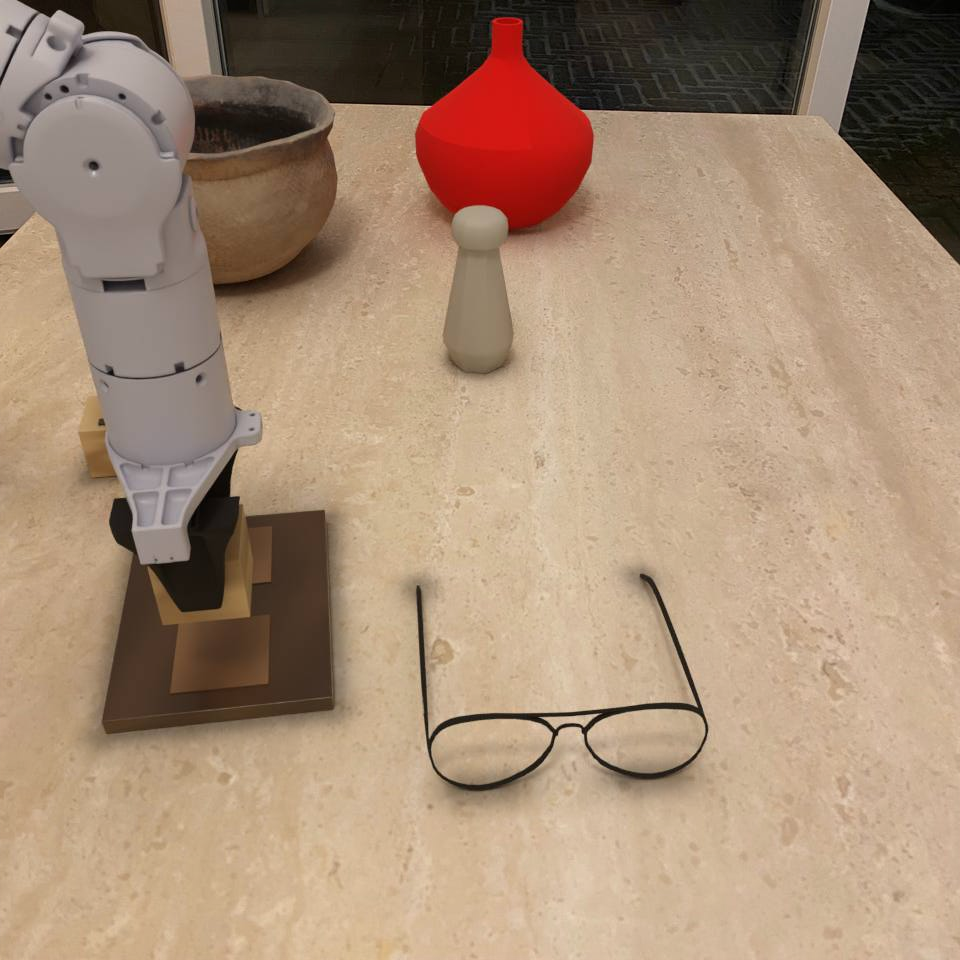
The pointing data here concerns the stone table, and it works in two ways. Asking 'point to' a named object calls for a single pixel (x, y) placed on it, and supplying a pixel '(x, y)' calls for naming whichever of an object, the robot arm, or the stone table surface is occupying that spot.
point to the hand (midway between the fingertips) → (204, 572)
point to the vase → (505, 138)
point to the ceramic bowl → (259, 171)
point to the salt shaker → (478, 292)
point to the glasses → (535, 716)
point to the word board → (231, 640)
